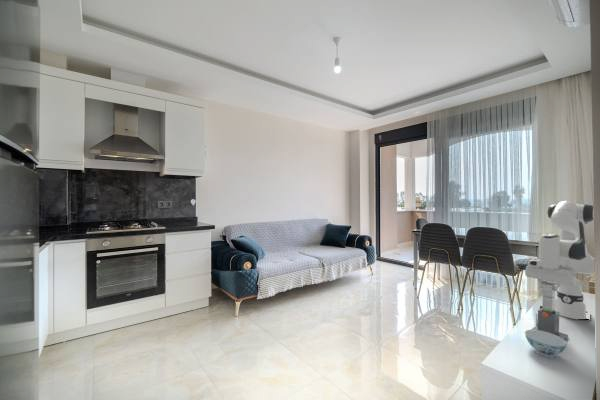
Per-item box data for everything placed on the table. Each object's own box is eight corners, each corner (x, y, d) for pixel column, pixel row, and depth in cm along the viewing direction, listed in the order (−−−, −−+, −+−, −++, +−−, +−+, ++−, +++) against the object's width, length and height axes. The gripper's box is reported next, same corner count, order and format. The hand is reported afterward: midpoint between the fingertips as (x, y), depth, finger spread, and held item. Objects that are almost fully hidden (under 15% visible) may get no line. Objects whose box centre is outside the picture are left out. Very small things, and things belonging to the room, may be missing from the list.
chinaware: (571, 356, 128) (571, 339, 128) (560, 366, 120) (560, 349, 120) (531, 341, 141) (531, 327, 141) (519, 350, 133) (519, 334, 133)
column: (544, 319, 150) (545, 280, 150) (555, 323, 146) (556, 282, 146) (541, 321, 148) (541, 281, 148) (552, 325, 144) (553, 284, 144)
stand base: (537, 327, 156) (537, 304, 156) (568, 337, 145) (568, 312, 145) (528, 333, 149) (528, 309, 149) (560, 344, 138) (560, 318, 138)
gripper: (577, 267, 140) (577, 293, 140) (528, 259, 157) (528, 283, 157) (574, 269, 136) (573, 296, 136) (524, 260, 154) (523, 284, 154)
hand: (548, 289), depth 147 cm, fingers closed on column, 4 cm apart
